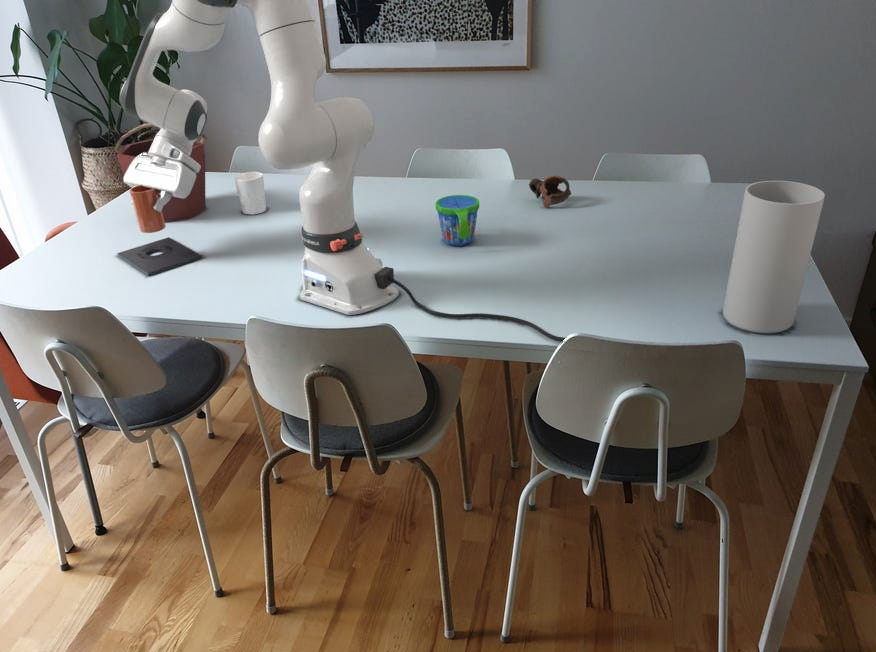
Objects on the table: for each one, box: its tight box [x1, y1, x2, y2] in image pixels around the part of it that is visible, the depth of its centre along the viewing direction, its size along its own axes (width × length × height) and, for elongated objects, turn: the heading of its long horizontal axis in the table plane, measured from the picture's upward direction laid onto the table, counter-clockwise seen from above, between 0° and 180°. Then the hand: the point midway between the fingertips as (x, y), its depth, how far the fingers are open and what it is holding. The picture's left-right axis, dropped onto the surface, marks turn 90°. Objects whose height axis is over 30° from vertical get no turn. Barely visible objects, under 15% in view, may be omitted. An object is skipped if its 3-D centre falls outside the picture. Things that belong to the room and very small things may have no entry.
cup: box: [129, 185, 166, 234], centre depth 176 cm, size 6×6×10 cm
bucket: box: [114, 122, 208, 223], centre depth 204 cm, size 24×22×25 cm
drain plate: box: [116, 236, 203, 277], centre depth 182 cm, size 18×14×1 cm
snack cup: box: [435, 194, 481, 247], centre depth 179 cm, size 16×10×10 cm
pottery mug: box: [528, 175, 572, 209], centre depth 200 cm, size 12×10×8 cm
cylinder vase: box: [722, 180, 826, 334], centre depth 134 cm, size 12×12×25 cm
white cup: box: [233, 171, 267, 215], centre depth 206 cm, size 8×8×10 cm
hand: (145, 207), depth 175 cm, fingers closed on cup, 6 cm apart
